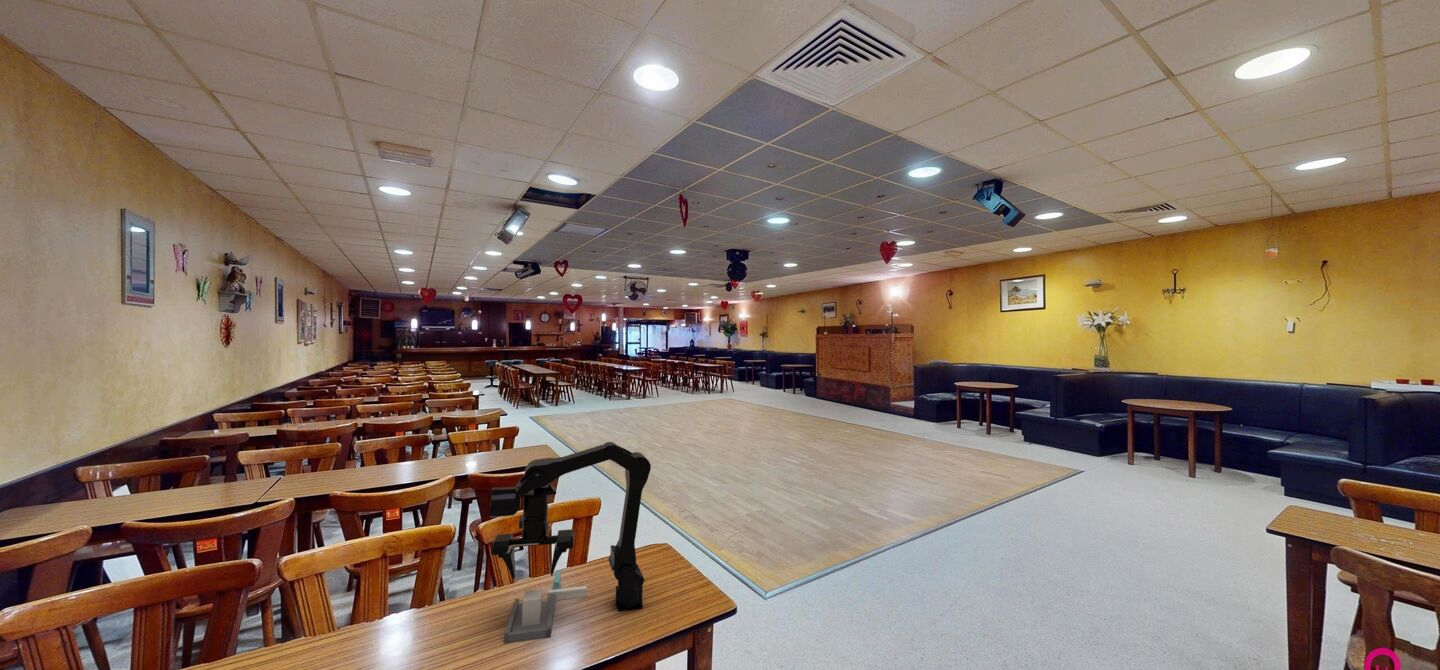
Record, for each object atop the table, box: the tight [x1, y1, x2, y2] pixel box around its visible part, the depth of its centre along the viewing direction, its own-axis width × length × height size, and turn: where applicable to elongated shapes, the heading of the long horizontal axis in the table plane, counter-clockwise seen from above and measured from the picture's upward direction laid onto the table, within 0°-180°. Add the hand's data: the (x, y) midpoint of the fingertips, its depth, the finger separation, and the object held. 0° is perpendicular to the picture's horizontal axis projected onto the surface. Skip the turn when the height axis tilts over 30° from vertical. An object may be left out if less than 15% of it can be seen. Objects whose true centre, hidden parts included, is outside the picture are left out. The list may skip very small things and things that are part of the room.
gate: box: [547, 569, 588, 601], centre depth 129 cm, size 10×8×4 cm
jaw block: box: [522, 588, 543, 626], centre depth 115 cm, size 4×5×6 cm
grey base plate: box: [503, 594, 557, 645], centre depth 115 cm, size 10×16×2 cm, turn 15°
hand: (533, 576), depth 115 cm, fingers open, 8 cm apart
